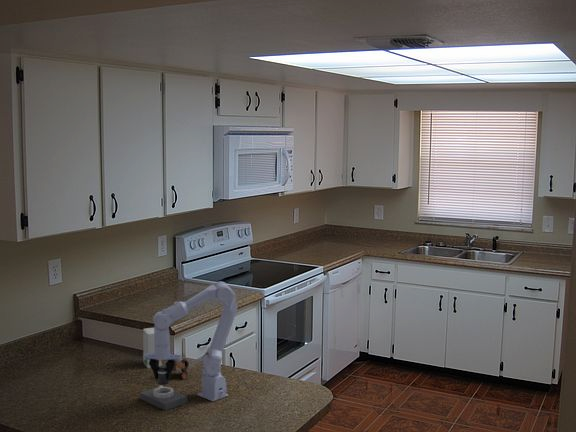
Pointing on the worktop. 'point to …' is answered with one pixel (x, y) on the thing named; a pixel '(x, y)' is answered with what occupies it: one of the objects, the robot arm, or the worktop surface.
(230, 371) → the worktop surface
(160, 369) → the lens
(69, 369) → the worktop surface
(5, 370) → the worktop surface
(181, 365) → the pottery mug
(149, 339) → the skincare box
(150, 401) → the camera body
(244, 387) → the worktop surface
